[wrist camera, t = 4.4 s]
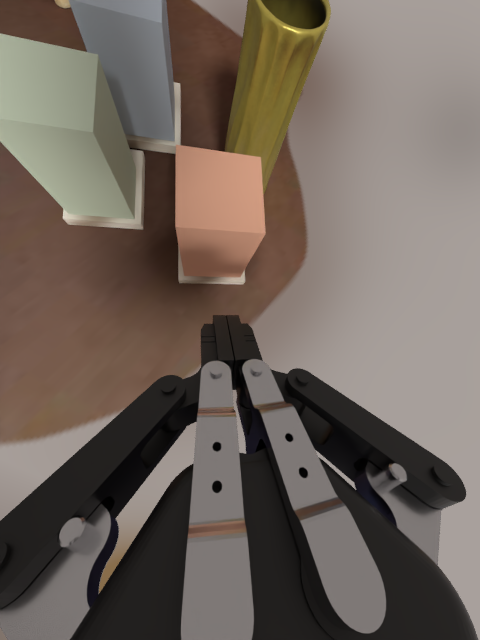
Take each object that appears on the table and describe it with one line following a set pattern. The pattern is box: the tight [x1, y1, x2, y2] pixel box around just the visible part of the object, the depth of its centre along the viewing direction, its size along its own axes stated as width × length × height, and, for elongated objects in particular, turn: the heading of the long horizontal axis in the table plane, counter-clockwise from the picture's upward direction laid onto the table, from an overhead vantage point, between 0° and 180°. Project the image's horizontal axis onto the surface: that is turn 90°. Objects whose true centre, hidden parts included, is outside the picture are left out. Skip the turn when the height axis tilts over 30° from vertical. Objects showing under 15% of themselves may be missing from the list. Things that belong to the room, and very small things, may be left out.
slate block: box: [69, 0, 175, 141], centre depth 20 cm, size 6×6×9 cm
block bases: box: [63, 82, 245, 284], centre depth 24 cm, size 18×25×1 cm
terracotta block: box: [175, 145, 266, 277], centre depth 19 cm, size 6×6×9 cm
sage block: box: [0, 34, 136, 219], centre depth 17 cm, size 6×6×9 cm
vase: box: [224, 0, 331, 194], centre depth 20 cm, size 6×6×14 cm
